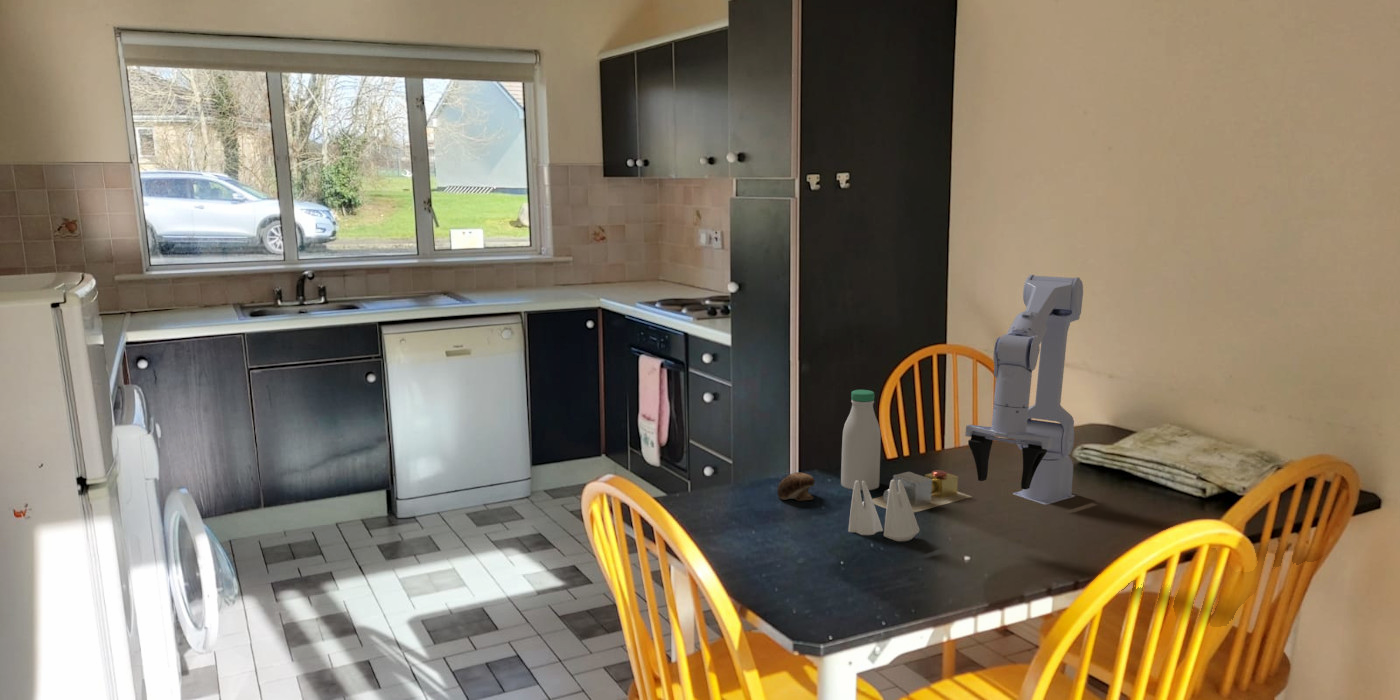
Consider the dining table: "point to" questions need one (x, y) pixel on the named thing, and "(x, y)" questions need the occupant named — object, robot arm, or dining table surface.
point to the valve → (943, 483)
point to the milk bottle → (861, 443)
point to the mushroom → (796, 487)
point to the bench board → (934, 503)
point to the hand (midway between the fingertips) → (1003, 484)
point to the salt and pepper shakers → (897, 514)
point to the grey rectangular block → (913, 488)
